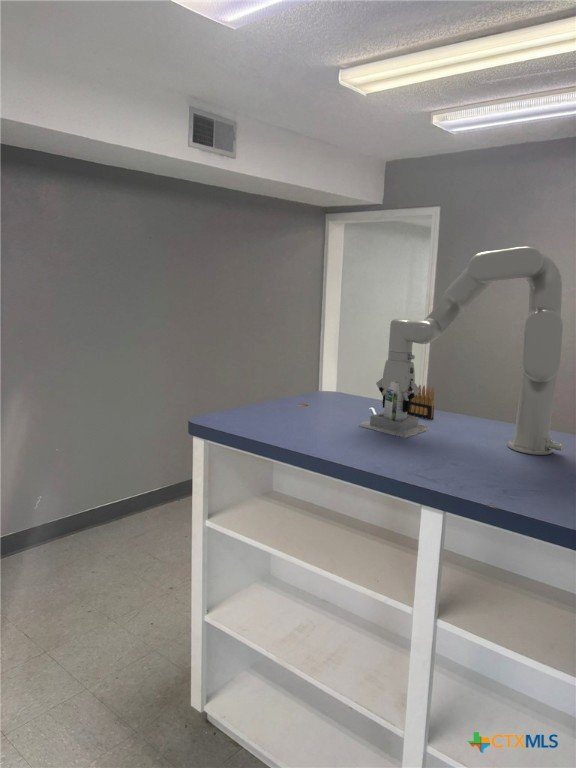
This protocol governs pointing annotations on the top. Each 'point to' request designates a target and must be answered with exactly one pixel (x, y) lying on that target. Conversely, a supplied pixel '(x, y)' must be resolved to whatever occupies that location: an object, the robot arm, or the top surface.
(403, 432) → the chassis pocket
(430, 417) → the ammunition clip
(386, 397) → the syrup box
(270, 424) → the top surface
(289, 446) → the top surface
